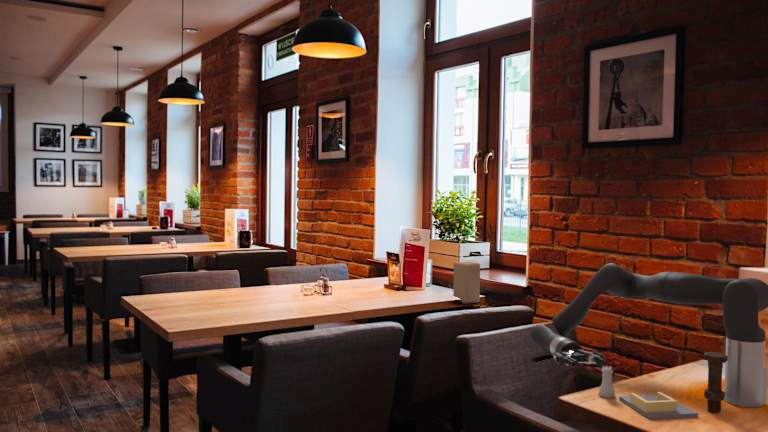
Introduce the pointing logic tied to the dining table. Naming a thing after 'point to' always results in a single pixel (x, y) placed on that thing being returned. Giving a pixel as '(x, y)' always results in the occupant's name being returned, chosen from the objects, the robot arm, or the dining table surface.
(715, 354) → the bolt
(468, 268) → the block
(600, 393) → the rook chess piece
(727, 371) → the robot arm
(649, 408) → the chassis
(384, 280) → the dining table surface
